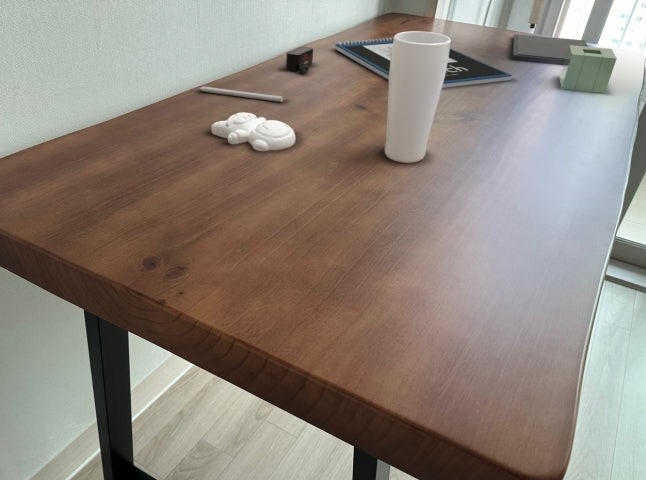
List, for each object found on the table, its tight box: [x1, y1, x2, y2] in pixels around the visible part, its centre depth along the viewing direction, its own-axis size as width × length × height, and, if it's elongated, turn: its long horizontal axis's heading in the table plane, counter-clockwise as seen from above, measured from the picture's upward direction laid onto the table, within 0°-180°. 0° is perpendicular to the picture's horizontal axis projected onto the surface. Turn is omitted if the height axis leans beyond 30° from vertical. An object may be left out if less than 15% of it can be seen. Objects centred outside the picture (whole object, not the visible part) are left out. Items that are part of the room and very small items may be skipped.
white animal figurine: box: [210, 111, 296, 152], centre depth 80 cm, size 9×12×3 cm
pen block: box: [559, 45, 618, 94], centre depth 102 cm, size 7×7×6 cm
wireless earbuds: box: [285, 45, 314, 74], centre depth 108 cm, size 5×7×3 cm, turn 149°
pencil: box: [198, 86, 284, 103], centre depth 95 cm, size 1×1×15 cm
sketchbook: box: [334, 36, 513, 89], centre depth 113 cm, size 22×30×2 cm
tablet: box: [511, 33, 589, 66], centre depth 122 cm, size 15×20×1 cm
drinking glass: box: [384, 30, 452, 164], centre depth 72 cm, size 7×7×15 cm
